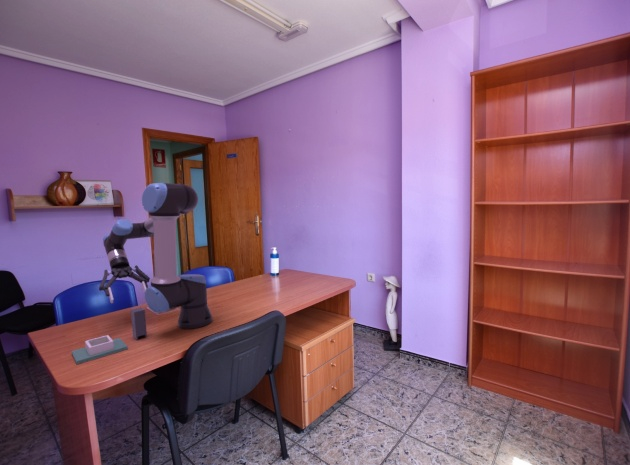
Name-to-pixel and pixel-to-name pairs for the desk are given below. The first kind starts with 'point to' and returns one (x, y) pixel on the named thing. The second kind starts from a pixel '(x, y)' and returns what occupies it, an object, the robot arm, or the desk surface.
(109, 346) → the board
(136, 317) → the block
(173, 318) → the desk surface
